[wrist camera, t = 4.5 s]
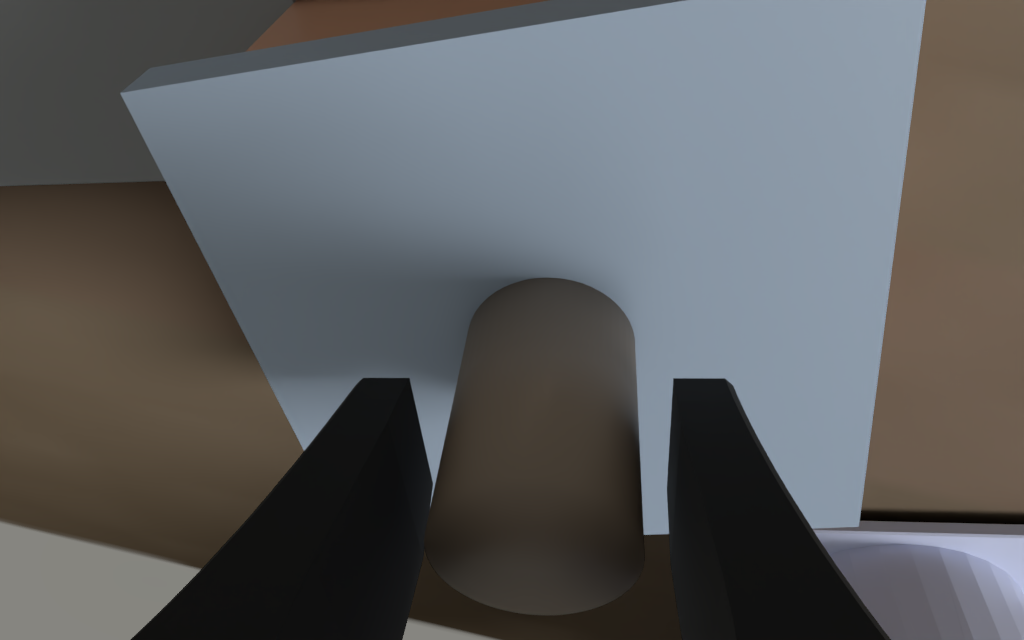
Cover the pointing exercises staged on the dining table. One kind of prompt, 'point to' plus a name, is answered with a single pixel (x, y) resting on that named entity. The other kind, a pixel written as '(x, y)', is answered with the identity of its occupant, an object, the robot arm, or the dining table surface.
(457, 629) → the dining table surface
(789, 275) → the lid
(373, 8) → the orange open box
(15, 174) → the mat
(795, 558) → the robot arm
